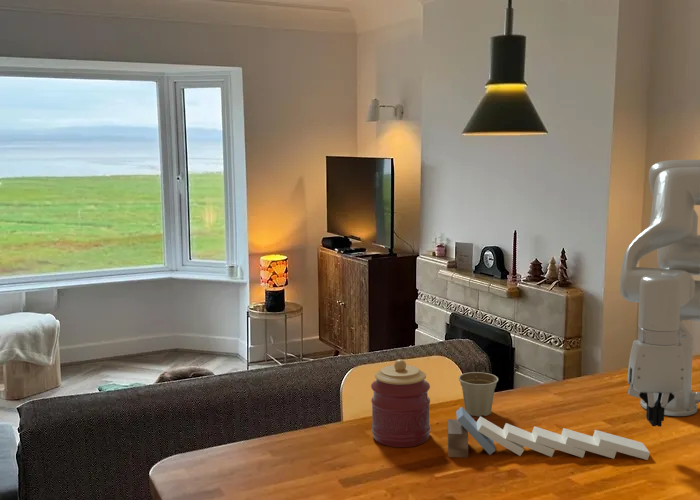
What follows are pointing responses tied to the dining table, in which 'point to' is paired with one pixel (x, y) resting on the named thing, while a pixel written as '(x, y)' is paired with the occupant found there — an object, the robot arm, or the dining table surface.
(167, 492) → the dining table surface
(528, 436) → the tile
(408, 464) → the dining table surface
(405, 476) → the dining table surface
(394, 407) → the canister
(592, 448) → the tile
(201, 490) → the dining table surface
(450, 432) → the end block
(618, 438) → the tile
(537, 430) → the tile
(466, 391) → the flower pot
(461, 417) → the tile
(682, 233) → the robot arm
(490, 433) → the tile
